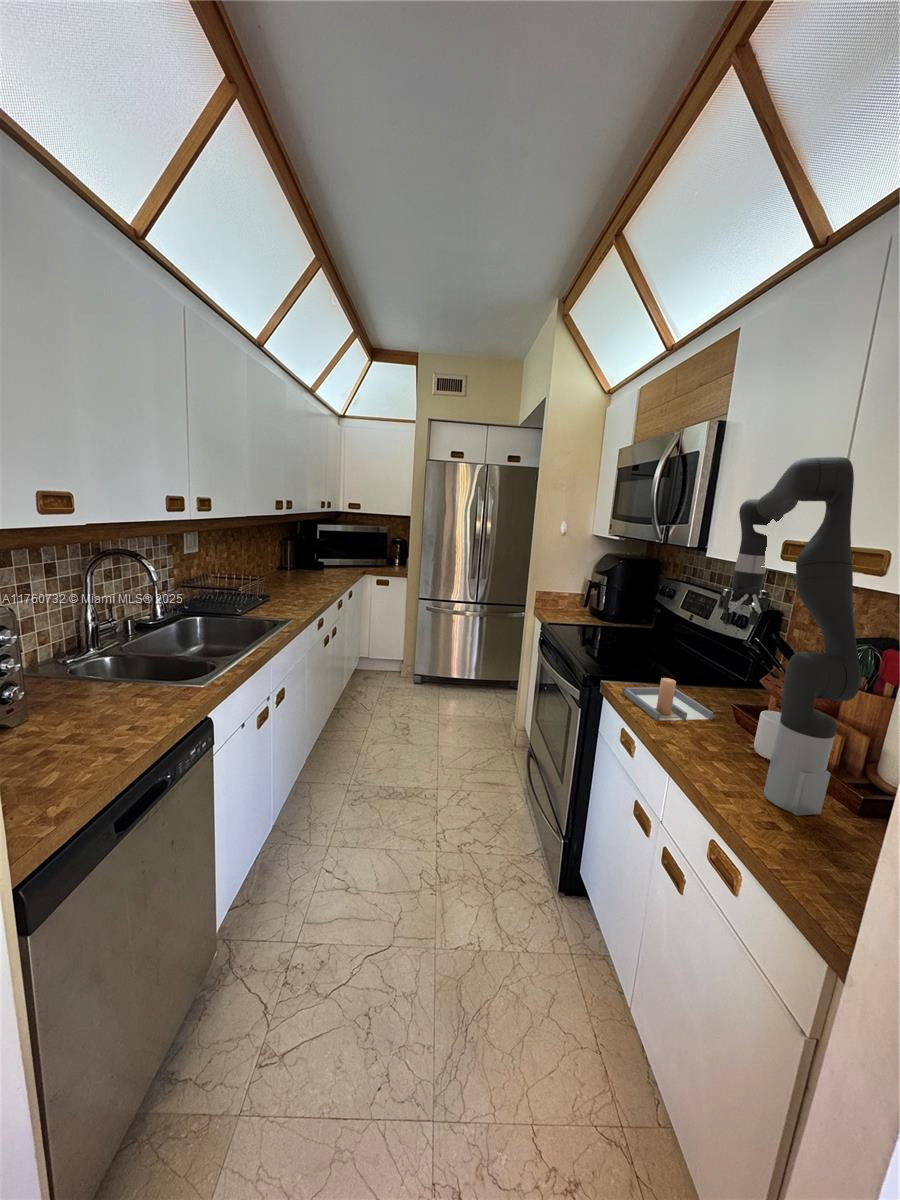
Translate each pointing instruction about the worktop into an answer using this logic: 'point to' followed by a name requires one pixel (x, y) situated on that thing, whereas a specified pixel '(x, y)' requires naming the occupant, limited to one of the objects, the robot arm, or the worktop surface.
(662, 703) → the peg
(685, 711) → the grey shallow tray
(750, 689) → the worktop surface
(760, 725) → the cup
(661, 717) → the pad
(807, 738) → the robot arm
